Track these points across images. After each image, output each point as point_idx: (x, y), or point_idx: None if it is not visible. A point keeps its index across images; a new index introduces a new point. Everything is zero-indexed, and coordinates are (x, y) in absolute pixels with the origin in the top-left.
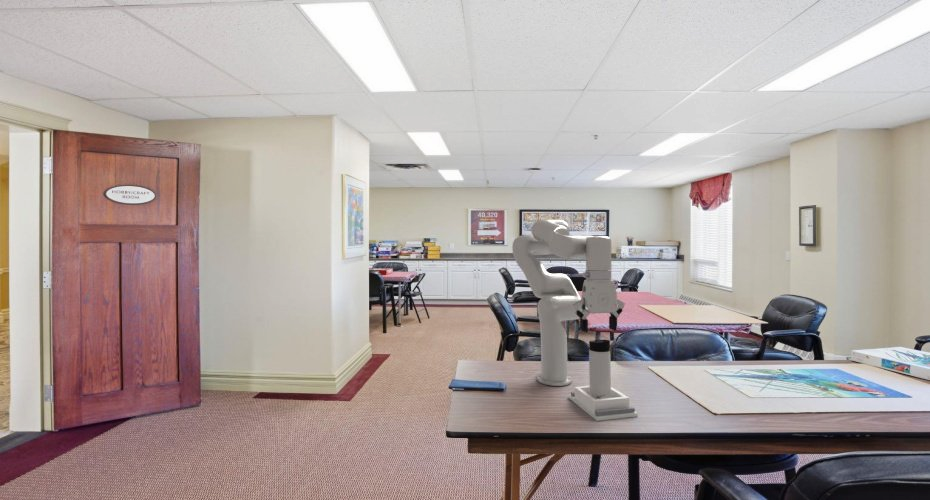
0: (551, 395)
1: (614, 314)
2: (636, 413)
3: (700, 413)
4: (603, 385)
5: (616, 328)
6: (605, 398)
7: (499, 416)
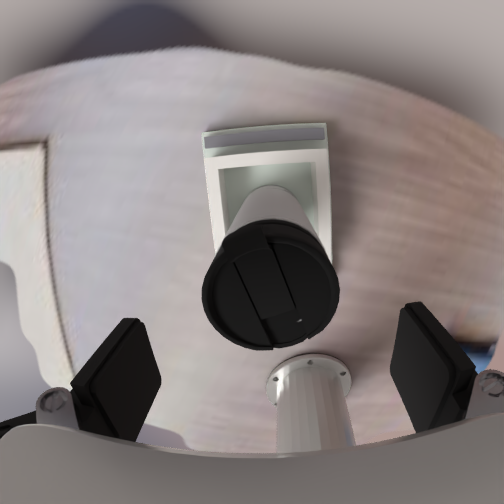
0: (363, 302)
1: (70, 419)
2: (204, 132)
3: (64, 145)
4: (276, 192)
5: (119, 323)
6: (281, 162)
7: (499, 207)
